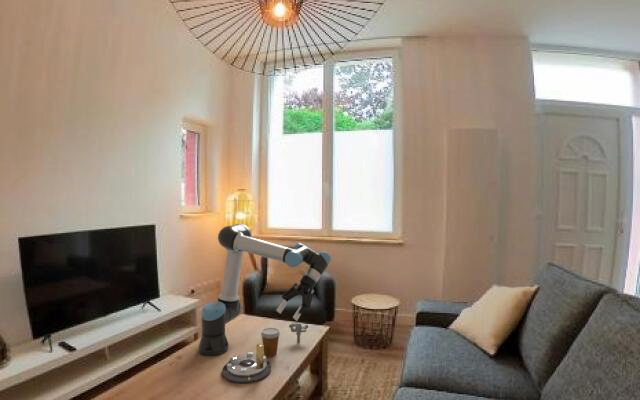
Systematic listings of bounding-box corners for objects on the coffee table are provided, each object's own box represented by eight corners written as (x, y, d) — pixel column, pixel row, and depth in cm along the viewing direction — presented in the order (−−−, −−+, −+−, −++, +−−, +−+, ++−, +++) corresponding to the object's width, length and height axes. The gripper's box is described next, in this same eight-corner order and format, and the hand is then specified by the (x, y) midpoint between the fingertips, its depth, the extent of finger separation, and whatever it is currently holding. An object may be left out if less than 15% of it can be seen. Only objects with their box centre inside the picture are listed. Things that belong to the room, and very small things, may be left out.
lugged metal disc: (218, 370, 170) (218, 344, 170) (244, 355, 186) (244, 331, 185) (249, 381, 161) (249, 353, 161) (274, 364, 177) (274, 339, 176)
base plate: (214, 369, 175) (214, 365, 175) (255, 356, 189) (255, 352, 189) (236, 389, 158) (236, 384, 158) (280, 372, 172) (280, 368, 172)
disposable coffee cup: (283, 354, 192) (283, 331, 191) (268, 360, 185) (269, 336, 184) (271, 348, 198) (271, 326, 198) (257, 354, 191) (257, 331, 191)
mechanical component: (307, 343, 205) (307, 325, 205) (288, 343, 205) (289, 325, 205) (307, 341, 208) (308, 323, 207) (289, 341, 208) (289, 323, 208)
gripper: (330, 287, 181) (307, 326, 171) (299, 279, 200) (276, 313, 190) (322, 278, 177) (297, 317, 168) (291, 270, 196) (267, 305, 187)
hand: (286, 315), depth 179 cm, fingers open, 13 cm apart
